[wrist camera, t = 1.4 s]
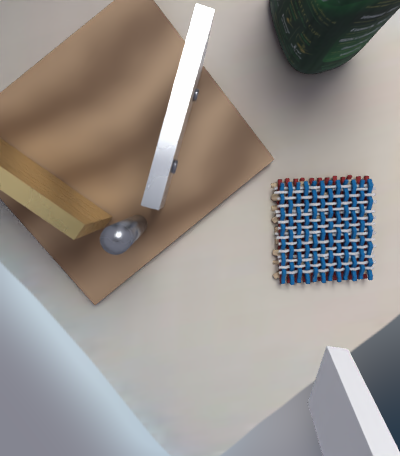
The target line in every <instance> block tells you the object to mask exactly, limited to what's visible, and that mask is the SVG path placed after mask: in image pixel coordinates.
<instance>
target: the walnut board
mask: <svg viewBox="0 0 400 456" xmlns="http://www.w3.org/2000/svg"><path fill="white" fill-rule="evenodd" d="M184 46H185V41H184V40H183V38H182V37H181V36H180V35H179V33H178V32H177V31H176V29H175V28H174V27H173V25H172V24H171V23H170V21H169V20H168V19H167V17H166V16H165V15H164V14H163V12H162V11H161V10H160V8H159V7H158V6H157V4H156V3H155V2H154V0H114V1H113V2H112V3H111V4H109V5H108V6H107V7H106V8H104V9H103V10H102V11H101V12H99V13H98V14H97V15H96V16H94V17H93V18H92V19H91V20H90V21H88V22H87V23H86V24H85V25H83V26H82V27H81V28H80V29H78V30H77V31H76V32H75V33H73V34H72V35H71V36H70V37H69V38H67V39H66V40H65V41H64V42H62V43H61V44H60V45H59V46H57V47H56V48H55V49H54V50H53V51H51V52H50V53H49V54H48V55H46V56H45V57H44V58H43V59H41V60H40V61H39V62H38V63H36V64H35V65H34V66H33V67H32V68H30V69H29V70H28V71H27V72H25V73H24V74H23V75H22V76H20V77H19V78H18V79H17V80H15V81H14V82H13V83H12V84H11V85H9V86H8V87H7V88H6V89H4V90H3V91H2V92H1V93H0V138H1V139H3V140H4V141H6V142H7V143H8V144H10V145H11V146H13V147H14V148H16V149H17V150H18V151H20V152H21V153H23V154H24V155H26V156H27V157H28V158H30V159H31V160H33V161H34V162H35V163H37V164H38V165H40V166H41V167H43V168H44V169H45V170H47V171H48V172H50V173H51V174H53V175H54V176H55V177H57V178H58V179H60V180H61V181H63V182H64V183H65V184H67V185H68V186H70V187H71V188H73V189H74V190H75V191H77V192H78V193H80V194H81V195H83V196H84V197H85V198H87V199H88V200H90V201H91V202H93V203H94V204H95V205H97V206H98V207H100V208H101V209H102V210H104V211H105V212H107V213H108V214H110V215H111V216H112V218H111V220H110V221H109V223H108V224H107V225H106V227H107V226H109V225H112V224H114V223H117V222H119V221H122V220H124V219H127V218H129V217H132V216H134V215H141V216H143V217H144V218H145V219H146V221H147V228H146V230H145V231H144V232H143V233H142V234H141V236H140V237H139V238H138V239H137V240H136V241H135V242H134V243H133V244H132V245H131V246H130V247H129V248H128V249H127V250H126V251H125V252H124V253H122V254H119V255H112V254H109V253H107V252H106V251H105V250H104V249H103V248H102V246H101V244H100V235H101V233H102V231H103V230H104V229H105V228H106V227H104V228H102V229H99V230H97V231H95V232H92V233H90V234H87V235H85V236H82V237H80V238H77V239H75V240H73V239H72V238H70V237H69V236H67V235H66V234H64V233H63V232H61V231H60V230H58V229H57V228H56V227H54V226H53V225H51V224H50V223H48V222H47V221H45V220H44V219H42V218H41V217H39V216H38V215H37V214H35V213H34V212H32V211H31V210H29V209H28V208H26V207H25V206H23V205H22V204H20V203H19V202H17V201H16V200H15V199H13V198H12V197H10V196H9V195H7V194H6V193H4V192H3V191H1V190H0V199H1V200H2V201H3V202H4V203H5V204H6V205H7V207H8V208H9V209H10V210H11V211H12V212H13V213H14V215H15V216H16V217H17V218H18V219H19V220H20V221H21V222H22V224H23V225H24V226H25V227H26V228H27V229H28V230H29V231H30V233H31V234H32V235H33V236H34V237H35V238H36V239H37V240H38V242H39V243H40V244H41V245H42V246H43V247H44V248H45V250H46V251H47V252H48V253H49V254H50V255H51V256H52V257H53V259H54V260H55V261H56V262H57V263H58V264H59V265H60V266H61V268H62V269H63V270H64V271H65V272H66V273H67V274H68V276H69V277H70V278H71V279H72V280H73V281H74V282H75V283H76V285H77V286H78V287H79V288H80V289H81V290H82V291H83V292H84V294H85V295H86V296H87V297H88V298H89V299H90V300H91V302H92V303H93V304H94V305H96V304H97V303H99V302H100V301H101V300H102V299H103V298H105V297H106V296H107V295H108V294H110V293H111V292H112V291H113V290H115V289H116V288H117V287H118V286H119V285H121V284H122V283H123V282H124V281H126V280H127V279H128V278H129V277H131V276H132V275H133V274H134V273H135V272H137V271H138V270H139V269H140V268H142V267H143V266H144V265H145V264H146V263H148V262H149V261H150V260H151V259H153V258H154V257H155V256H156V255H158V254H159V253H160V252H161V251H162V250H164V249H165V248H166V247H167V246H169V245H170V244H171V243H172V242H173V241H175V240H176V239H177V238H178V237H180V236H181V235H182V234H183V233H185V232H186V231H187V230H188V229H189V228H191V227H192V226H193V225H194V224H196V223H197V222H198V221H199V220H201V219H202V218H203V217H204V216H205V215H207V214H208V213H209V212H210V211H212V210H213V209H214V208H215V207H216V206H218V205H219V204H220V203H221V202H223V201H224V200H225V199H226V198H228V197H229V196H230V195H231V194H232V193H234V192H235V191H236V190H237V189H239V188H240V187H241V186H242V185H244V184H245V183H246V182H247V181H248V180H250V179H251V178H252V177H253V176H255V175H256V174H257V173H258V172H259V171H261V170H262V169H263V168H264V167H266V166H267V165H268V164H269V163H271V162H272V161H273V160H274V158H273V157H272V155H271V154H270V153H269V151H268V150H267V149H266V148H265V146H264V145H263V144H262V142H261V141H260V140H259V138H258V137H257V136H256V134H255V133H254V132H253V130H252V129H251V128H250V126H249V125H248V124H247V123H246V121H245V120H244V119H243V117H242V116H241V115H240V113H239V112H238V111H237V109H236V108H235V107H234V105H233V104H232V103H231V102H230V100H229V99H228V98H227V96H226V95H225V94H224V92H223V91H222V90H221V88H220V87H219V86H218V84H217V83H216V82H215V81H214V79H213V78H212V77H211V75H210V74H209V73H208V71H207V70H206V69H205V67H204V66H203V67H202V72H201V75H200V79H199V83H198V86H197V89H199V93H198V96H197V100H196V102H195V101H193V104H192V108H191V111H190V115H189V118H188V122H187V126H186V129H185V133H184V136H183V140H182V143H181V147H180V151H179V154H178V158H177V160H178V164H177V168H176V172H175V174H173V176H172V179H171V183H170V186H169V190H168V194H167V197H166V201H165V204H164V207H163V208H162V209H160V210H155V209H151V208H148V207H144V206H141V202H142V198H143V195H144V191H145V188H146V184H147V180H148V177H149V173H150V169H151V166H152V162H153V159H154V155H155V151H156V148H157V144H158V140H159V137H160V133H161V129H162V126H163V122H164V119H165V115H166V111H167V108H168V104H169V100H170V97H171V93H172V89H173V86H174V82H175V79H176V75H177V71H178V68H179V64H180V60H181V57H182V53H183V49H184Z"/></svg>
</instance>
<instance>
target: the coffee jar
mask: <svg viewBox="0 0 400 456" xmlns="http://www.w3.org/2000/svg"><path fill="white" fill-rule="evenodd" d="M270 8H271V14H272V18H273V23H274V27H275V30H276V33H277V36H278V39H279V42H280V45H281V47H282V50H283V52H284V54H285V56H286V58H287V60H288V62H289V63H290V64H291V66H292V67H293V68H295V69H296V70H298V71H300V72H302V73H306V74H315V73H321V72H324V71H327V70H331V69H333V68H336V67H338V66H340V65H342V64H344V63H346V62H347V61H349V60H350V59H351V58H352V57H353V56H355V55H356V54H357V53H358V52H359V51H360V50H361V49H362V48H363V47H364V46H365V45H366V44H367V43H368V42H369V40H370V39H371V38H372V37H373V36H374V35H375V34H376V33H377V32H378V30H379V29H380V28H381V27H382V26H383V25H384V24H385V23H386V22H387V21H388V20H389V19H390V18H391V16H392V15H393V14H394V13H395V12H396V11H397V10H398V9H399V8H400V0H270Z"/></svg>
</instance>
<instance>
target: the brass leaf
mask: <svg viewBox="0 0 400 456" xmlns="http://www.w3.org/2000/svg"><path fill="white" fill-rule="evenodd" d="M0 190H1V191H3V192H4V193H6V194H7V195H9V196H10V197H12V198H13V199H15V200H16V201H17V202H19V203H20V204H22V205H23V206H25V207H26V208H28V209H29V210H31V211H32V212H34V213H35V214H37V215H38V216H39V217H41V218H42V219H44V220H45V221H47V222H48V223H50V224H51V225H53V226H54V227H56V228H57V229H58V230H60V231H61V232H63V233H64V234H66V235H67V236H69V237H70V238H72V239H73V240H75V239H77V238H80V237H82V236H85V235H87V234H90V233H92V232H95V231H97V230H99V229H102V228H104V227H106V225H107V224H108V223H109V221H110V220H111V218H112V216H111V215H110V214H108V213H107V212H105V211H104V210H102V209H101V208H100V207H98V206H97V205H95V204H94V203H93V202H91V201H90V200H88V199H87V198H85V197H84V196H83V195H81V194H80V193H78V192H77V191H75V190H74V189H73V188H71V187H70V186H68V185H67V184H65V183H64V182H63V181H61V180H60V179H58V178H57V177H55V176H54V175H53V174H51V173H50V172H48V171H47V170H45V169H44V168H43V167H41V166H40V165H38V164H37V163H35V162H34V161H33V160H31V159H30V158H28V157H27V156H26V155H24V154H23V153H21V152H20V151H18V150H17V149H16V148H14V147H13V146H11V145H10V144H8V143H7V142H6V141H4V140H3V139H1V138H0Z"/></svg>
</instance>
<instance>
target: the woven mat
mask: <svg viewBox="0 0 400 456" xmlns="http://www.w3.org/2000/svg"><path fill="white" fill-rule="evenodd" d="M351 178H352V176H351V175H348V176H347V179H346V180H345V177H341V180H337V176H333V181H332V180H329V179H330V178H325V181H322V178H317V181H314V178H310V179H309V181H304V180H305V179H304V178H300V182H298V179H293V182H290V181H289V178H286V179H285V182H282V179H278V183H271V188H274V190H277V189H278V190H277V191H274V194H272V197H271V199H272V200H273V201H277V204H278V205H276V206H271V209H272V211H275V213H278V214H276V216H275V217H273V218H272V221H273V222H274V223H278V226H279V227H275V235H279V236H277V237H276V239H275V244H279V245H278V250H273V255H274V256H278V258H279V260H274V261H273V264H276V265H279V269H280V271H279V272H277V273H275V274H273V276H274V278H275V279H276V278H280V283H281V284H285V280H286V277H287V283H290V284H291V285H294V277H295V282H296V283H301V277H302V276H303V282H305V283H306V284H310V276H311V281H312V282H317V279H318V281H321V282H322V283H326V281H332V277H333V280H337V282H341V279H342V280H348V277H349V279H350V280H353V281H357V279H365V278H368V280H372V279H373V275H372V269H373V268H374V266H372V265H373V263H376V261H373V260H372V258H373V257H374V256H375V255H371V253H373V251H372V249H373V247H376V245H373V244H372V242H371V241H374V240H375V238H371V237H372V234H376V231H373V230H374V228H372V226H371V225H375V223H374V222H373V223H371V222H372V220H373V219H376V216H372V213H374V212H375V210H371V208H372V204H373V203H376V201H373V199H372V196H375V193H372V190H376V187H373V186H374V184H373V183H372V179H369V176H364V179H361V176H357V177H356V179H351ZM351 187H352V188H351ZM309 189H310V190H309ZM284 190H286V191H284ZM332 190H333V192H332ZM308 192H310V193H308ZM284 193H286V194H284ZM308 199H310V203H309V201H308ZM285 200H286V204H284V201H285ZM292 200H293V201H292ZM301 200H302V204H300V201H301ZM332 200H333V202H332ZM363 200H364V201H363ZM316 201H317V203H316ZM347 201H348V202H347ZM324 211H325V212H324ZM301 212H302V213H301ZM308 212H310V213H308ZM285 213H286V214H285ZM292 213H293V214H292ZM367 219H368V220H367ZM301 222H302V226H301ZM309 222H310V226H308V225H309ZM285 223H286V224H285ZM293 223H294V226H293ZM324 224H325V225H324ZM336 232H337V233H336ZM317 233H318V234H317ZM294 234H295V235H294ZM301 234H302V235H301ZM284 235H286V236H284ZM359 241H360V242H359ZM340 242H341V244H340ZM286 245H287V249H285V247H286ZM293 245H295V248H293ZM301 245H302V248H301ZM317 245H318V247H317ZM317 253H318V254H317ZM294 254H295V255H294ZM340 255H341V256H340ZM308 257H310V258H308ZM286 258H287V259H286ZM293 258H295V259H293ZM285 265H287V266H285ZM371 266H372V267H371ZM294 268H295V271H294ZM310 268H311V270H309V269H310ZM325 268H326V269H325ZM286 269H287V271H286ZM325 275H326V277H325ZM367 275H368V277H367Z"/></svg>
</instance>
